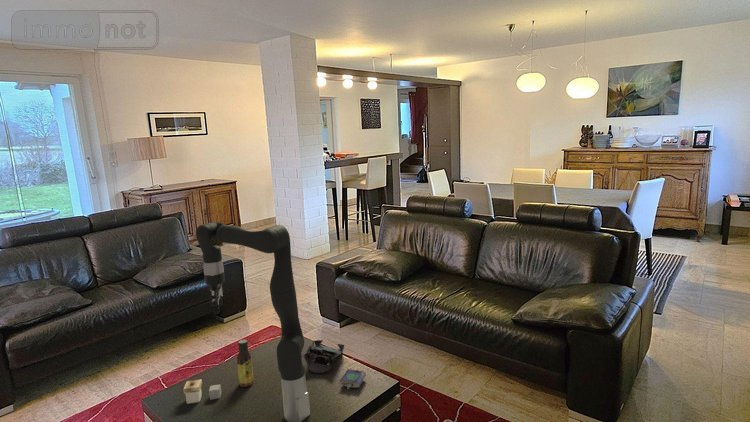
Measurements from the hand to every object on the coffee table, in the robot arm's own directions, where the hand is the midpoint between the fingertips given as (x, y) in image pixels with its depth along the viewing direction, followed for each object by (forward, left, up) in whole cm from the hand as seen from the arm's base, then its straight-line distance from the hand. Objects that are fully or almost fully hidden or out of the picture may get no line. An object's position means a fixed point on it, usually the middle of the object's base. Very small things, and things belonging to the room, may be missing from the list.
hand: (218, 309), depth 174 cm
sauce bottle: (0, -10, -38) cm, 40 cm away
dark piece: (-19, -40, -39) cm, 59 cm away
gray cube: (+4, +3, -38) cm, 38 cm away
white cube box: (+10, +9, -38) cm, 40 cm away
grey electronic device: (-40, -37, -39) cm, 67 cm away
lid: (+10, +9, -33) cm, 36 cm away
